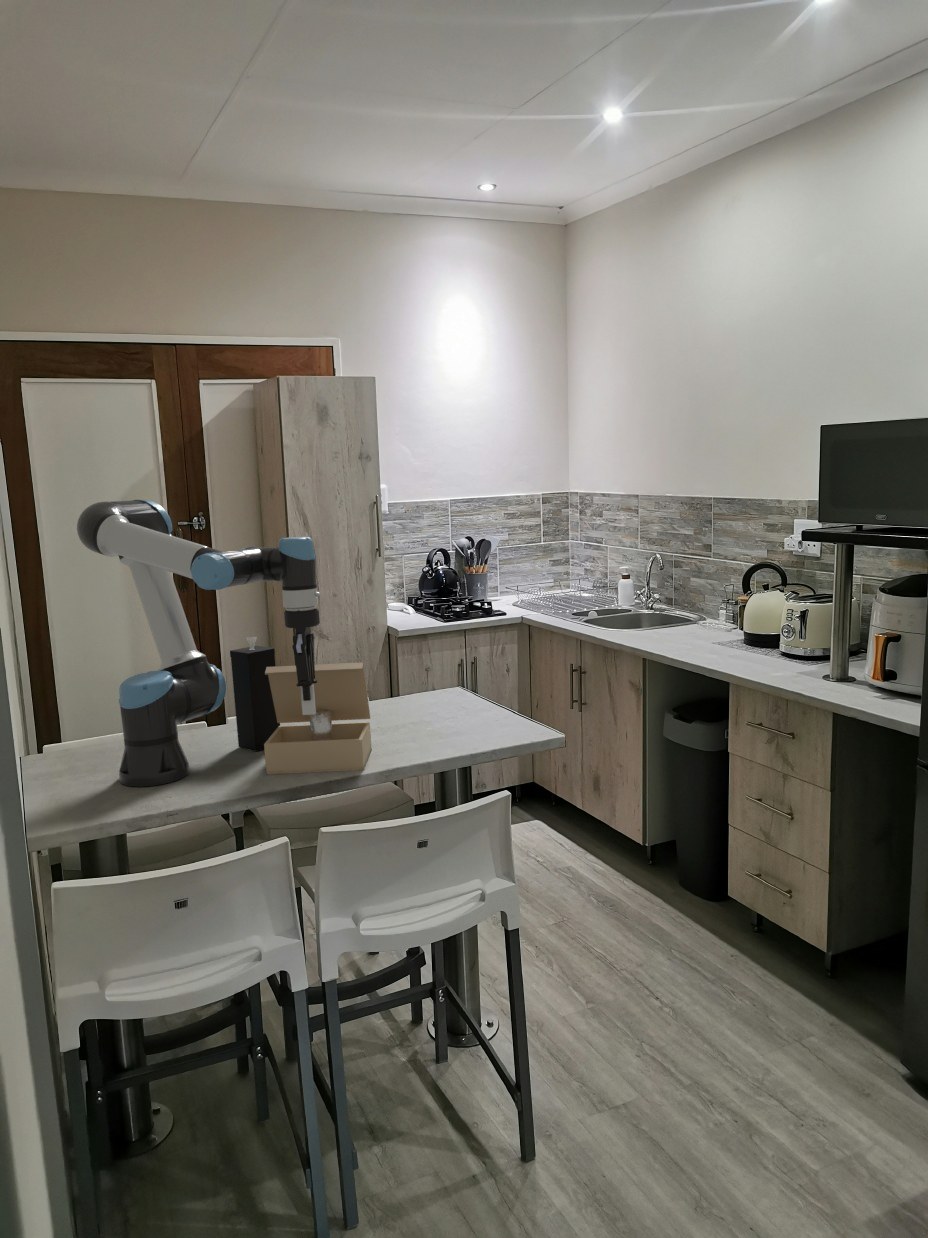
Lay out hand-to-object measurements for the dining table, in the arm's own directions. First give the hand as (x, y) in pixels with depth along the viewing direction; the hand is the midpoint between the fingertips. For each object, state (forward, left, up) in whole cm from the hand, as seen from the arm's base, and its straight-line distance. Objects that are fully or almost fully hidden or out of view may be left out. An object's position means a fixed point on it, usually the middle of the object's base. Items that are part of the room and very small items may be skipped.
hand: (309, 713), depth 204 cm
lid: (0, +12, 0) cm, 12 cm away
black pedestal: (-18, +26, -14) cm, 34 cm away
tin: (0, +13, -14) cm, 19 cm away
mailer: (0, +10, -14) cm, 17 cm away
